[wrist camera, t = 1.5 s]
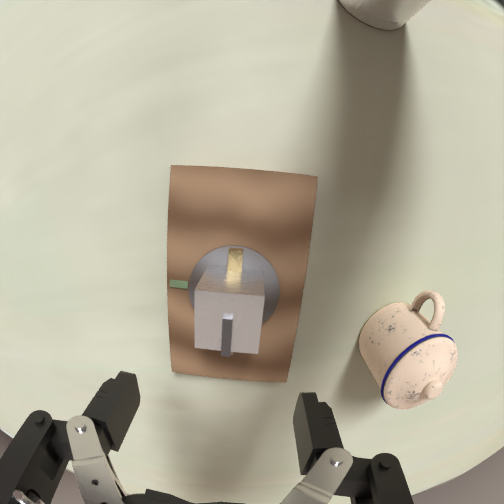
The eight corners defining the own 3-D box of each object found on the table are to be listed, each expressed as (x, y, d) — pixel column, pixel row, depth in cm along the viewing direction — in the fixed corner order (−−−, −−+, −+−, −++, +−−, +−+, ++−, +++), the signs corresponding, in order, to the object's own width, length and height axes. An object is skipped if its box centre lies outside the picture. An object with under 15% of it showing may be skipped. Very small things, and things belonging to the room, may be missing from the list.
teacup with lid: (402, 364, 31) (441, 421, 19) (344, 361, 30) (375, 430, 19) (438, 282, 28) (499, 323, 16) (380, 269, 27) (441, 316, 16)
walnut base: (176, 166, 25) (168, 164, 22) (312, 177, 25) (319, 176, 22) (175, 361, 30) (170, 375, 28) (284, 371, 30) (286, 386, 28)
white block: (208, 245, 24) (194, 266, 18) (264, 250, 24) (267, 273, 18) (206, 330, 26) (194, 368, 20) (255, 335, 26) (255, 375, 20)
